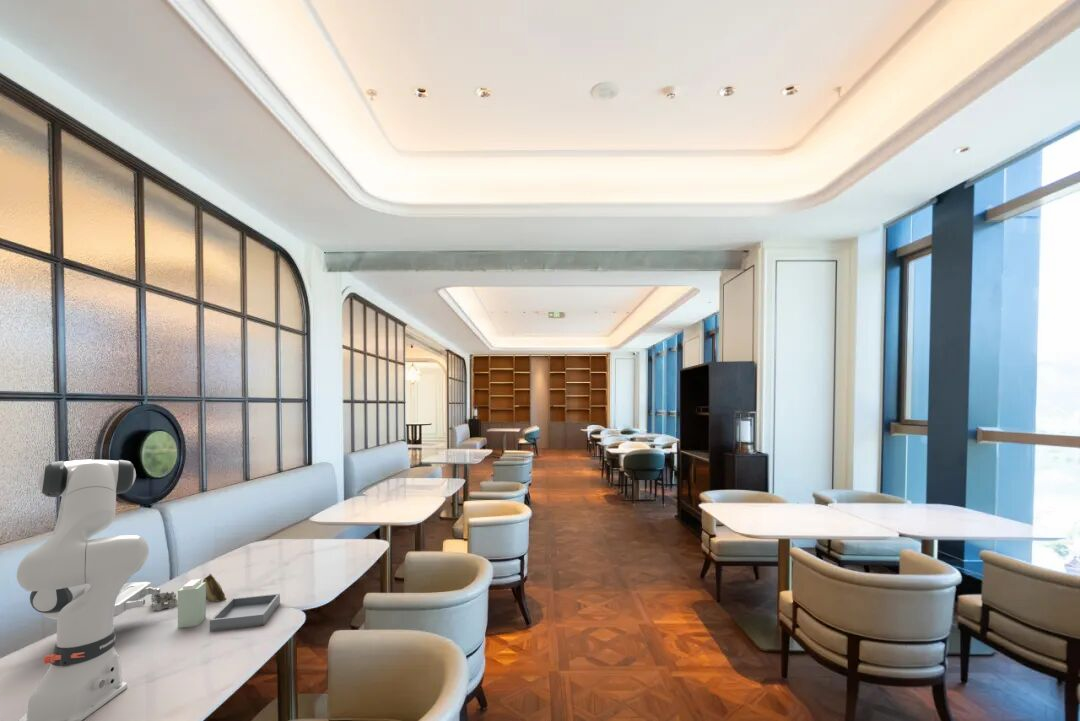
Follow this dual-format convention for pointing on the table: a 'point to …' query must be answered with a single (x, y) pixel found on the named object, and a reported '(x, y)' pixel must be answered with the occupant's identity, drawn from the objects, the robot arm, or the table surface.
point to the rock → (213, 589)
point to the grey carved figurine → (163, 600)
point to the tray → (245, 612)
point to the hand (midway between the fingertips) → (151, 596)
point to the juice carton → (192, 603)
